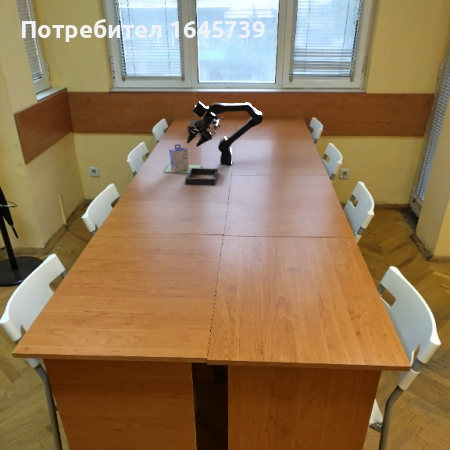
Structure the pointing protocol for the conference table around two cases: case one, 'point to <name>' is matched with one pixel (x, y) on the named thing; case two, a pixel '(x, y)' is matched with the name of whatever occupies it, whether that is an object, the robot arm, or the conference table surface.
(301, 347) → the conference table surface
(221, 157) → the robot arm
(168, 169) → the mat
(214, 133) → the tablet mount
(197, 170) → the black square frame
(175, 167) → the ink cartridge box
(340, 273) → the conference table surface
